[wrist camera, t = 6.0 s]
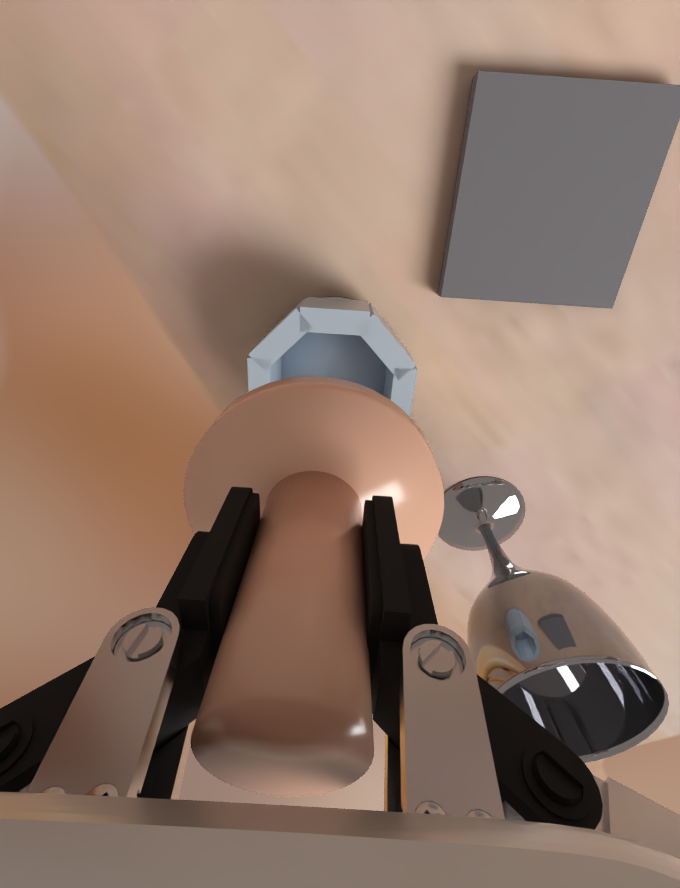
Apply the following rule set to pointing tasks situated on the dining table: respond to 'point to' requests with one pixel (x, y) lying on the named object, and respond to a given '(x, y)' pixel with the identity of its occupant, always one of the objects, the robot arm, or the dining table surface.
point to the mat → (554, 186)
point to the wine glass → (549, 636)
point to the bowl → (336, 349)
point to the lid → (303, 577)
